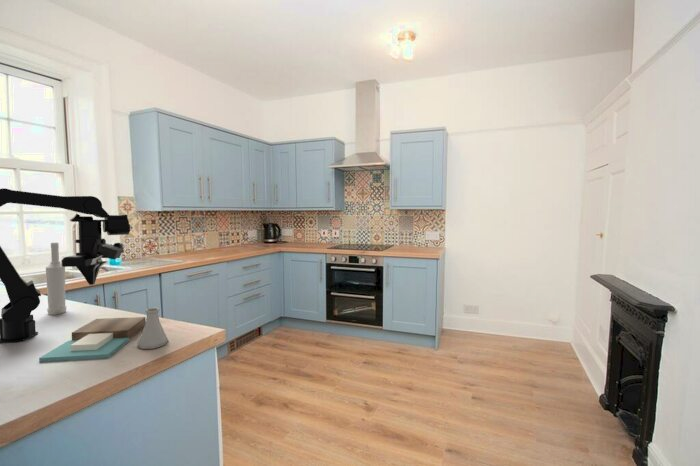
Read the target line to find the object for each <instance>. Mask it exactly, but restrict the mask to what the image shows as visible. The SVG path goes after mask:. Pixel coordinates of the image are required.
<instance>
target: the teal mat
mask: <svg viewBox="0 0 700 466" xmlns="http://www.w3.org/2000/svg"><path fill="white" fill-rule="evenodd" d="M76 341H78V340H72V339H71V340H67V341H65V342H64V343H62V344H60V345H59V346H57V347H56V348H54V349H52V350H50V351H48V352H46V353H45V354H44V355H42V356H40V357H39V358H38V359H39V360H38V361H39V363H44V362H45V363H46V362H61V361H62V362H64V361H81V360H82V361H83V360H96V359H97V360H98V359H109V358H110V357H112V356H113V355H114V354H115V353H116V352H118V351H119V350H120V349H122V348H123V347H124V346H125V345H126V344H128V343H129V342H130V339H129V338H113V339H111V340H110V341H108V342H107V343H106V344H104V345H103V346H101V347H100V348H98V349H97V350H81V351H70V345H72V344H73V343H75V342H76Z"/></svg>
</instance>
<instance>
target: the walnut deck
mask: <svg viewBox="0 0 700 466" xmlns="http://www.w3.org/2000/svg"><path fill="white" fill-rule="evenodd" d="M145 323H146V316H140V317H139V316H137V317H135V316H134V317H111V318H110V317H109V318H108V317H107V318H106V317H105V318H95V319H93V320H91V321H90V322H88V323H86V324H84V325H82V326H80V327H79V328H77V329H76V330H74V331H72V332H71V340H80V339H81V338H83V337H85V336H86V335H88V334H96V333H113V338H129V340H131V339H132V338H133V337H134V336H136V335H137V334H138V333H139V332H140V331H141V330H142V331H143V329H144V326H145Z"/></svg>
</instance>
